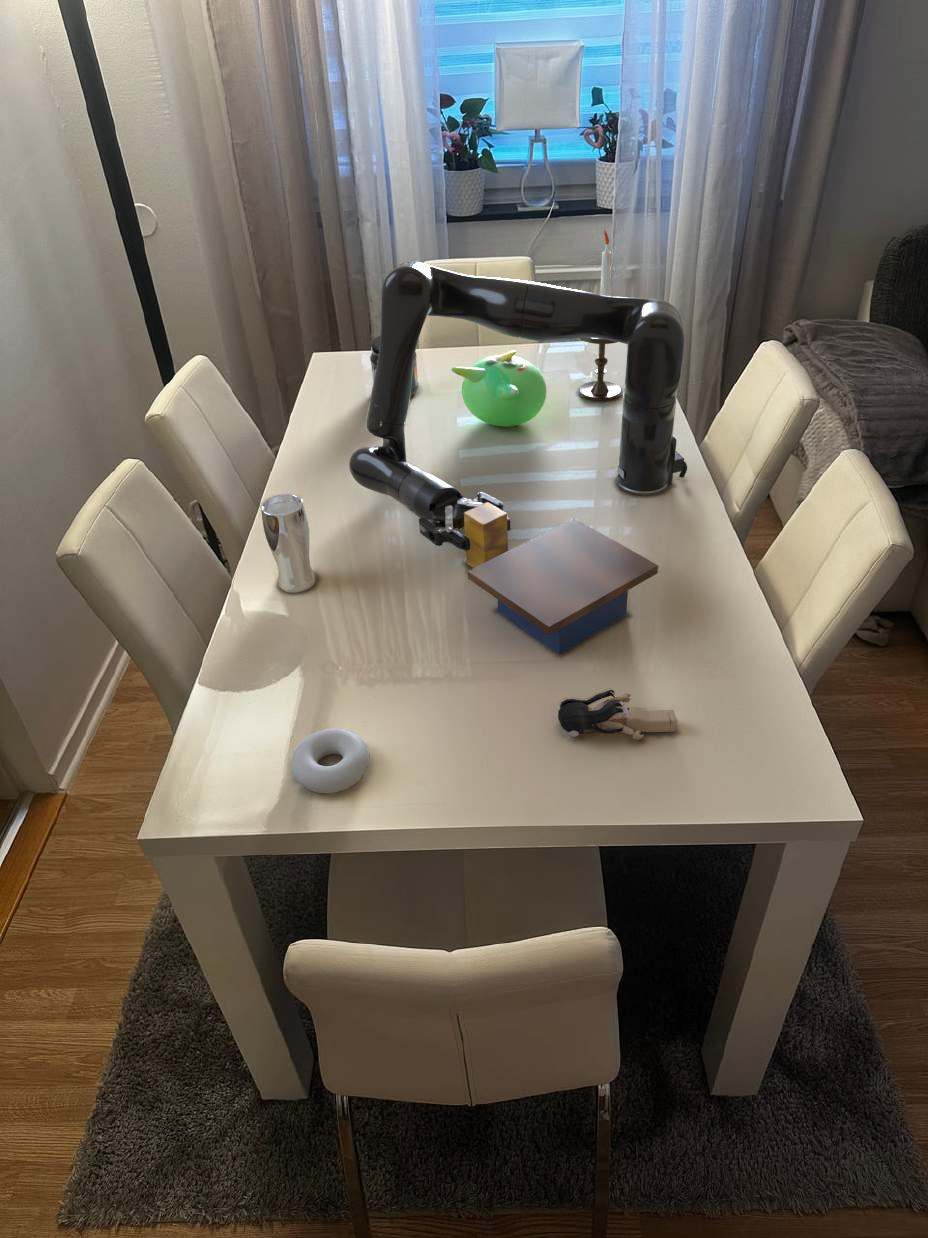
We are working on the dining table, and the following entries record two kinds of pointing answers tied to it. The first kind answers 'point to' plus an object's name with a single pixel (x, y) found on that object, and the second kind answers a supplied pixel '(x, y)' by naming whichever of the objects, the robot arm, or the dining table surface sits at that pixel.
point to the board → (562, 575)
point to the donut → (335, 775)
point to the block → (485, 533)
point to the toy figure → (612, 717)
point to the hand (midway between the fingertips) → (489, 535)
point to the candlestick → (601, 345)
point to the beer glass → (289, 540)
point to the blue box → (573, 624)
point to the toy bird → (503, 389)
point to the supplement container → (374, 359)
